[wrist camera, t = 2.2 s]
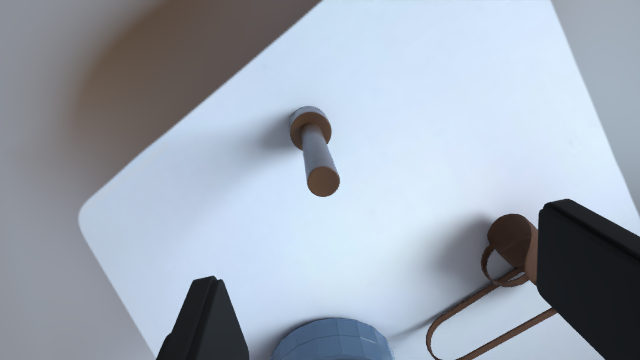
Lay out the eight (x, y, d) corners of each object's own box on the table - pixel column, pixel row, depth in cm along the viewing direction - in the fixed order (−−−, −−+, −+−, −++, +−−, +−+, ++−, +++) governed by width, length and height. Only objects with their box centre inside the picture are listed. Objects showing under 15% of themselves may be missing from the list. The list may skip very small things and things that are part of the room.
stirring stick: (292, 146, 34) (295, 216, 20) (287, 108, 32) (285, 155, 18) (329, 141, 34) (358, 207, 20) (325, 103, 33) (353, 146, 19)
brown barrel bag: (506, 199, 38) (551, 230, 31) (563, 258, 41) (614, 297, 35) (386, 305, 41) (404, 352, 35) (448, 351, 45) (474, 402, 38)
